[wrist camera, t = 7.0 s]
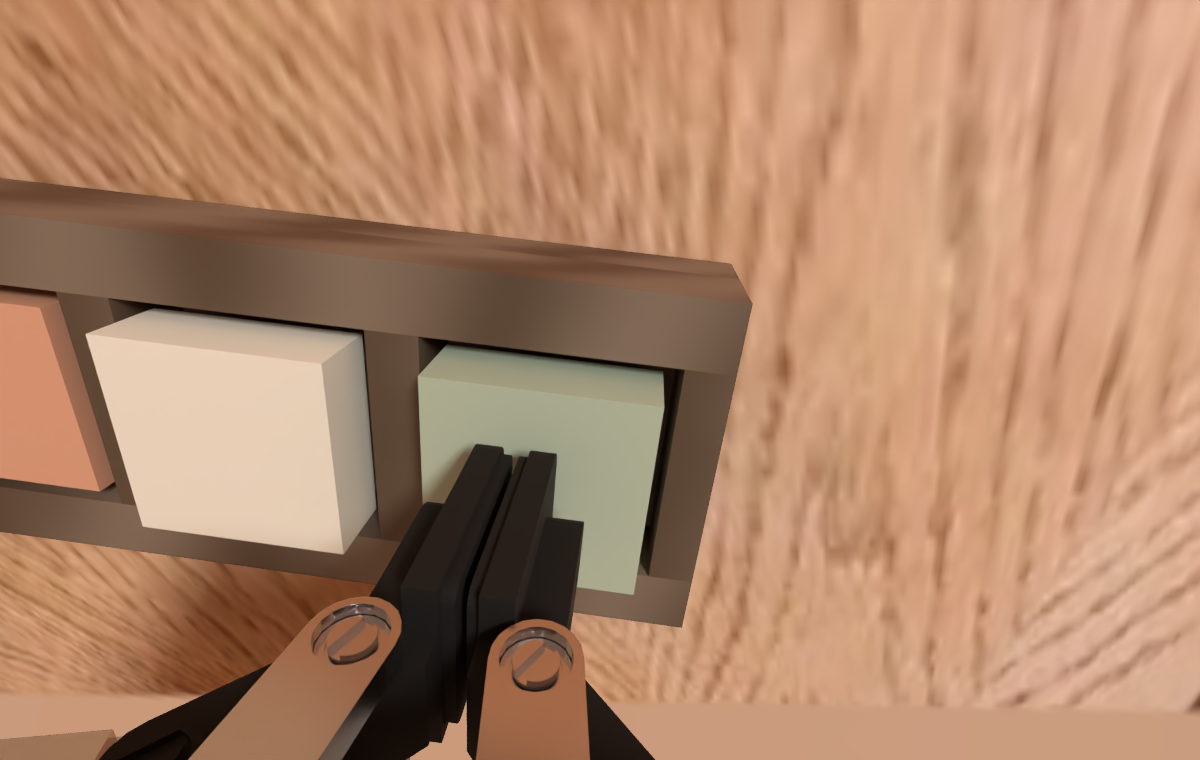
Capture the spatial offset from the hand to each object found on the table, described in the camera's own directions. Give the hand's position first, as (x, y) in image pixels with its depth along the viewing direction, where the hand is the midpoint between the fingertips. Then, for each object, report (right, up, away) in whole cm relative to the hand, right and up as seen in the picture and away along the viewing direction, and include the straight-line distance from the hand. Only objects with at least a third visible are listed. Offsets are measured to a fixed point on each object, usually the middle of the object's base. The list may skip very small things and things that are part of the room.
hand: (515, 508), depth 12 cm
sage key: (0, +1, +2) cm, 2 cm away
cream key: (-6, +2, +3) cm, 7 cm away
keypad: (-6, +3, +5) cm, 9 cm away
